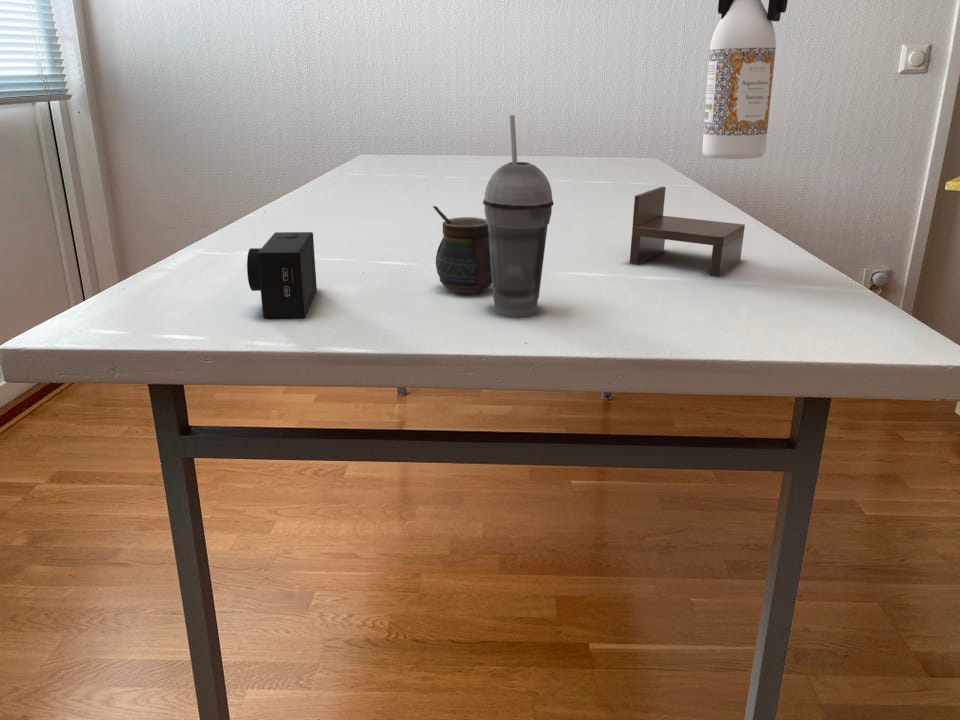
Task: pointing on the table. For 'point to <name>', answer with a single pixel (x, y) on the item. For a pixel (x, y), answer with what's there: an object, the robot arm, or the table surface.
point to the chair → (681, 233)
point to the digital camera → (284, 274)
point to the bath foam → (739, 83)
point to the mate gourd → (464, 255)
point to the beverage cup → (517, 232)
